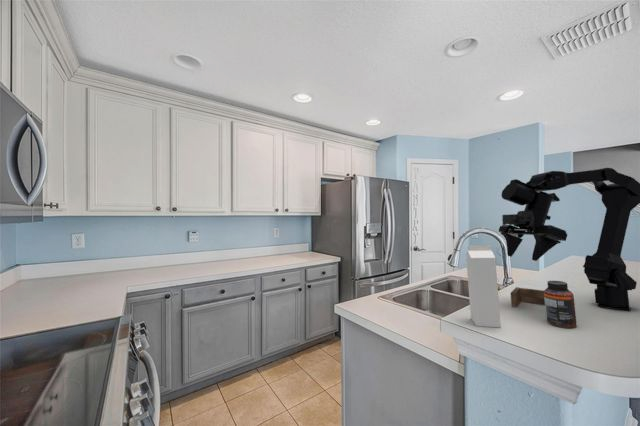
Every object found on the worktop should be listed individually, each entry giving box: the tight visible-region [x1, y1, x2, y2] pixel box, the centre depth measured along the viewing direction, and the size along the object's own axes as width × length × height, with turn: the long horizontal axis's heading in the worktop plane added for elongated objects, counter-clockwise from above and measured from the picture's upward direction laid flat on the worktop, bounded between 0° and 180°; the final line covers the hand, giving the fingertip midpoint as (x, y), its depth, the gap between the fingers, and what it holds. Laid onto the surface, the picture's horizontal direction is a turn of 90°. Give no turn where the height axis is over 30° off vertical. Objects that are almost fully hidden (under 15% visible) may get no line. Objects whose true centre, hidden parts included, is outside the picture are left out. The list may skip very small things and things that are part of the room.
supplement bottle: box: [543, 280, 577, 329], centre depth 69 cm, size 6×6×11 cm
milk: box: [465, 244, 502, 328], centre depth 73 cm, size 6×6×22 cm
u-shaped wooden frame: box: [510, 286, 545, 308], centre depth 83 cm, size 10×9×4 cm
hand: (521, 258), depth 79 cm, fingers open, 9 cm apart
